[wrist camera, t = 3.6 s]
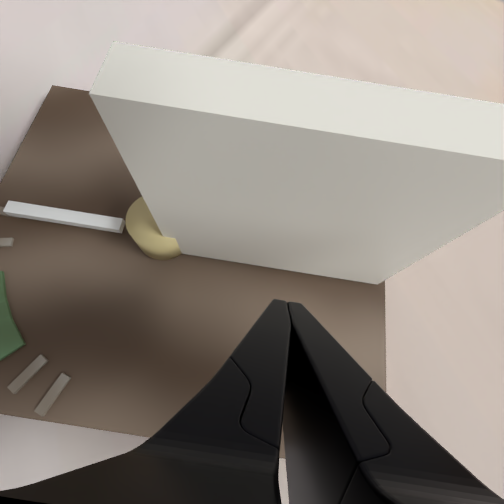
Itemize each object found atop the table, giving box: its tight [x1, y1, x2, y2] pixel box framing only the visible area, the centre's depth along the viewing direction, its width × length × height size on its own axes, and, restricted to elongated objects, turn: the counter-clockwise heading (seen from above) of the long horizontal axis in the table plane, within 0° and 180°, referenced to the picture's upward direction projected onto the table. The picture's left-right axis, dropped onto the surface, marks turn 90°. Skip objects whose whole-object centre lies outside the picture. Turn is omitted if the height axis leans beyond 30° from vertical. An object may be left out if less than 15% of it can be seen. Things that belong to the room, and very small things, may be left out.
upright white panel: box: [3, 41, 504, 285], centre depth 11 cm, size 3×18×9 cm, turn 81°
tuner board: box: [0, 85, 386, 459], centre depth 16 cm, size 17×20×2 cm
